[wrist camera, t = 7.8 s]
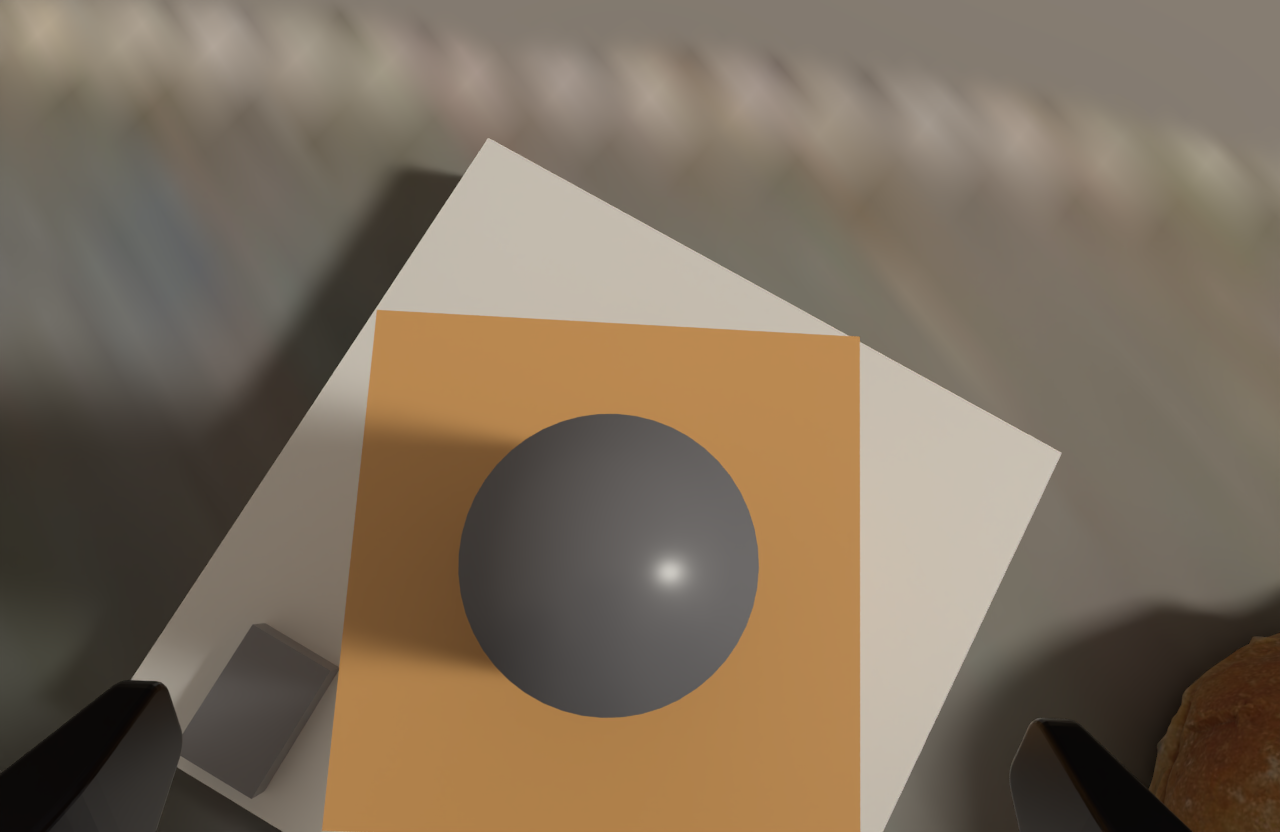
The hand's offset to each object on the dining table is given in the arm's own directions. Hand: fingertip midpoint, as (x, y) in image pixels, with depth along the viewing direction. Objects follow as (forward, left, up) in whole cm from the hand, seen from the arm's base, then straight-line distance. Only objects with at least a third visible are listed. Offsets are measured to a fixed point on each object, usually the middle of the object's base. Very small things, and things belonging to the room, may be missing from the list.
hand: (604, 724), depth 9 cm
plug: (+1, +1, -9) cm, 9 cm away
